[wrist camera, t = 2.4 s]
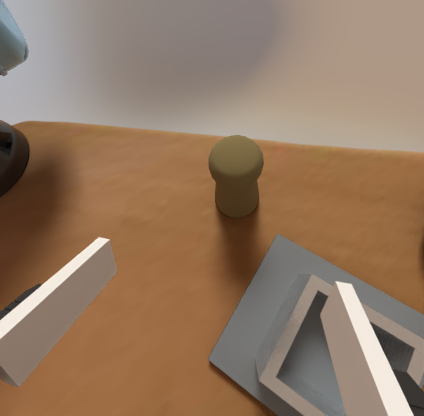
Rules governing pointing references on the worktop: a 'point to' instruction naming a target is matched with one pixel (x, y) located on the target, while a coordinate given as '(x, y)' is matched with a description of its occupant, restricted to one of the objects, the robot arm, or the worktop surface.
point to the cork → (236, 175)
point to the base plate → (309, 330)
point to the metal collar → (287, 329)
